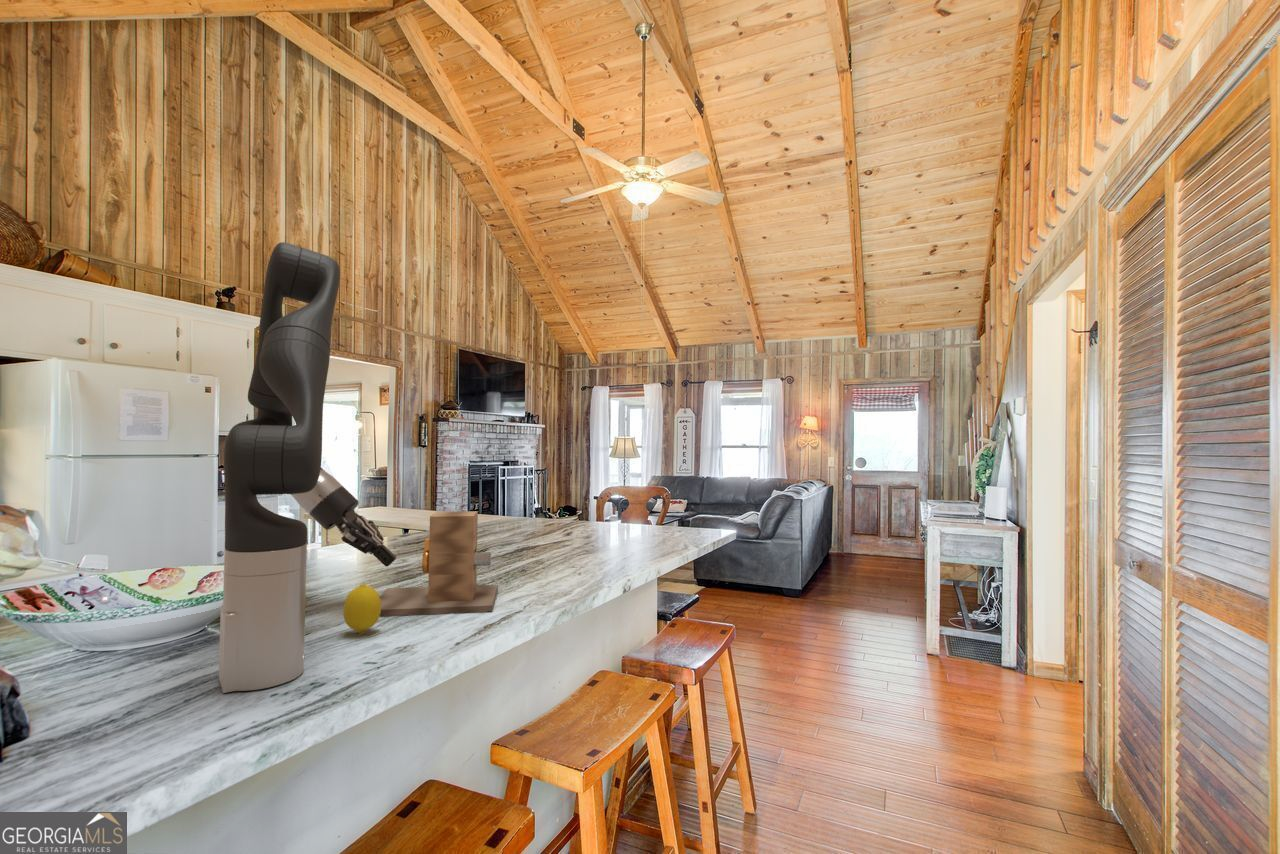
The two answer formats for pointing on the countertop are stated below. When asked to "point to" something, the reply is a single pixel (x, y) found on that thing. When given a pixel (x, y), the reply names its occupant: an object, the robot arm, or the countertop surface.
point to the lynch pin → (479, 558)
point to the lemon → (362, 608)
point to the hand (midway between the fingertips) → (392, 562)
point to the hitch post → (445, 573)
